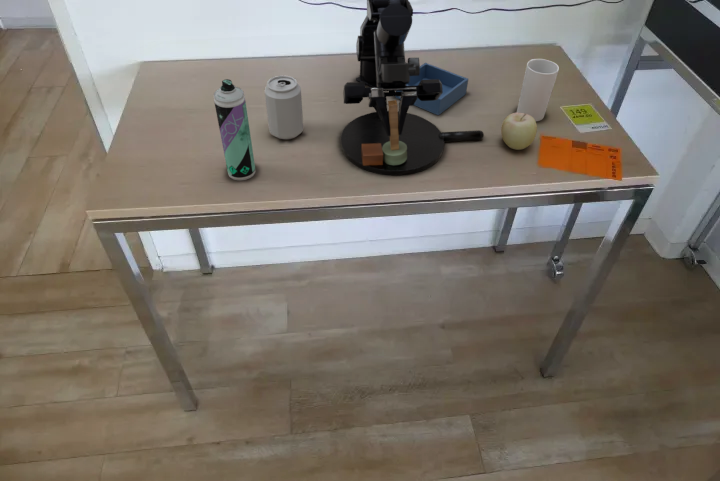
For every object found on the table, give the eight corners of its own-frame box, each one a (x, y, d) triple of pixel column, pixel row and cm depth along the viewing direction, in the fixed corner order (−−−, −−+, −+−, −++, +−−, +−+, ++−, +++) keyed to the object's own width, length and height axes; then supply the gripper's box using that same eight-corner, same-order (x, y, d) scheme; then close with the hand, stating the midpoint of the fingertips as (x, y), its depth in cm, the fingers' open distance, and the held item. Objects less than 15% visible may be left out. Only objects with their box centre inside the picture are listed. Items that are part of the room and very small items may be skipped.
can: (309, 126, 124) (306, 76, 116) (295, 144, 119) (291, 94, 111) (278, 119, 126) (273, 70, 118) (263, 137, 121) (257, 87, 113)
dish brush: (381, 151, 116) (377, 96, 107) (405, 148, 116) (404, 93, 107) (384, 166, 113) (381, 111, 103) (408, 163, 113) (408, 108, 103)
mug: (549, 121, 127) (563, 73, 119) (520, 123, 127) (533, 74, 118) (534, 98, 134) (547, 51, 126) (507, 99, 134) (518, 52, 125)
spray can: (229, 164, 114) (212, 74, 100) (256, 163, 115) (243, 73, 100) (226, 181, 110) (209, 89, 96) (255, 180, 111) (241, 89, 97)
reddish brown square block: (361, 153, 115) (361, 143, 114) (380, 153, 116) (381, 143, 114) (362, 165, 113) (363, 155, 111) (382, 165, 113) (383, 154, 111)
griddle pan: (345, 178, 112) (345, 170, 110) (336, 117, 127) (336, 110, 126) (497, 169, 114) (499, 161, 113) (470, 111, 130) (471, 103, 128)
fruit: (540, 148, 120) (549, 115, 114) (514, 158, 117) (523, 126, 112) (515, 130, 125) (523, 98, 119) (490, 140, 122) (497, 108, 116)
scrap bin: (395, 97, 134) (396, 81, 131) (423, 77, 140) (425, 62, 138) (438, 115, 128) (440, 99, 125) (465, 94, 135) (468, 78, 132)
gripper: (343, 42, 100) (348, 129, 100) (446, 38, 101) (451, 125, 101) (341, 62, 111) (345, 141, 111) (434, 59, 112) (438, 137, 112)
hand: (394, 136), depth 109 cm, fingers closed on dish brush
